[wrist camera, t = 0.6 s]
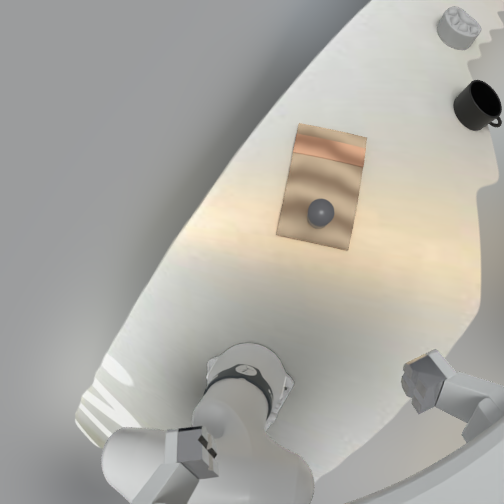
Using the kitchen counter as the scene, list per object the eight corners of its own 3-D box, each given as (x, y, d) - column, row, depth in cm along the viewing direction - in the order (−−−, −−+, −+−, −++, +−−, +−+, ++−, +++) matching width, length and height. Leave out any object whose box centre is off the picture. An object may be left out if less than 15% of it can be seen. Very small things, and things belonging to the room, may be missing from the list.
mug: (485, 145, 49) (505, 134, 40) (448, 113, 51) (465, 97, 42) (494, 119, 48) (512, 107, 39) (459, 89, 50) (474, 72, 41)
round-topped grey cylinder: (325, 231, 55) (331, 227, 43) (304, 227, 56) (305, 222, 44) (329, 211, 55) (336, 201, 43) (309, 206, 55) (310, 196, 44)
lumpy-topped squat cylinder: (475, 40, 47) (486, 25, 39) (459, 56, 49) (471, 40, 40) (448, 17, 48) (457, 0, 40) (429, 30, 50) (438, 12, 41)
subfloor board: (346, 250, 56) (348, 250, 54) (276, 234, 58) (276, 234, 56) (365, 140, 55) (367, 137, 53) (299, 126, 57) (298, 122, 55)
